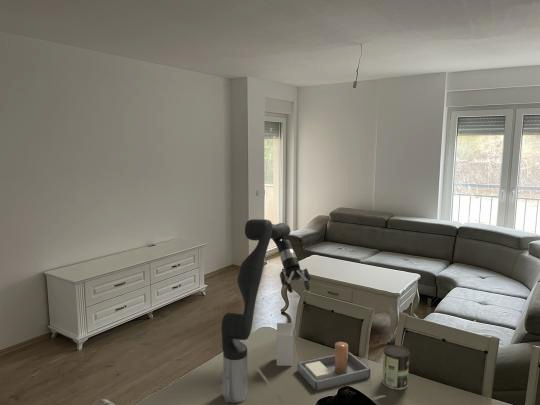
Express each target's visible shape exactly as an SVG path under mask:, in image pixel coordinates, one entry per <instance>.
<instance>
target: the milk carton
mask: <svg viewBox="0 0 540 405" xmlns="http://www.w3.org/2000/svg"><path fill="white" fill-rule="evenodd" d="M293 359H294V323H292V322H287V323H286V322H277V323H276V366H279V367H280V366H284V367H287V366H288V367H290V366H291V367H293V364H294V363H293V362H294V360H293Z"/></svg>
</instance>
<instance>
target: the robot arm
mask: <svg viewBox="0 0 540 405" xmlns="http://www.w3.org/2000/svg"><path fill="white" fill-rule="evenodd" d="M244 233H245V234H244V235H245V237H246V239H248V240H250V241H257V244H256V246H255V248H254V249H253V250H252V252H251V253H250V254H249V255H247V257H245V259H244V260H243V261H242V262H241V265H240V267H239V270H238V275H237V278H236V279H237V281H236V283H237V286H238V289H239V291H240V294H241V297H242V300H243V303H244V304H243V305H244V309H243V313H234V312H227V313H225V314H224V315H223V317H222V320H221V327H220V328H221V331H220V332H221V345H222V346H221V349H222V352H223V353H222V354H223V357H222V360H223V362H222V364H223V366H222V368H223V371H222V372H221V395H222V397H223V399H224V401H225V402H226V403H231V404H234V403H235V404H236V403H241V402H243V401H245V400H247V398H248V347H247V345H246V344H245V343H243V342H242V341H246V340H248V339H249V337H250V335H251V331H252V326H253V323H254V322H253V321H254V314H255V307H256V300H257V296H258V291H259V288H260V283H261V280H262V275H263V270H264V264H265V260H266V259H265V258H266V255H267V252H268V247H269V244H270V242H271V240H272V241H273V242H274V244H275V245H276V247H277V250H278V252H279V256H280V261H281V264H282V267H283V271H282V270H281V271H280V273H279V279H280V282H281V283H280V284H281V285H282V286H286V288H287V291H288V292H289V293H290V294H291V293H293V290H294V289H293V287H292V285H291V281H300V282H302V283H303V285H304V289H305V290H306V292H308V291H309V290H310V288H311V286H310V284H309V282H310V281H311V280H312V278H311V276H310V273H309V271H308V269H307V268H304V269H301V267H300V262H299V260H298V257H297V255H296V252H295V250H294V248H293V245H292V242H291V240H289V239H285V238H287V237H289V236H290V234H291V228H290V226H289V225H288V224H287V223H285V222H281V223H276V224H274V223H272V221H271V220H270V219H263V218H262V219H258V218H253V219H249V220H247V221H246V223H245V226H244ZM285 276H286V277H287V281H286V277H285Z"/></svg>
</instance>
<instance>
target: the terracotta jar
mask: <svg viewBox="0 0 540 405" xmlns="http://www.w3.org/2000/svg"><path fill="white" fill-rule="evenodd" d="M348 352H349V344H348V343H347V342H344V341H337V342H335V343H334V355H335V370H334V371H335V373H337V374H339V375H343V374H347V371H348Z"/></svg>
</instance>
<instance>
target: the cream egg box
mask: <svg viewBox="0 0 540 405" xmlns="http://www.w3.org/2000/svg"><path fill="white" fill-rule="evenodd" d="M305 369H306V370H307V371H308V372H309V373H310V374H311V375H312V376H313V377H314V379H315V380H316V381H318V380H322V379H326V378H331V377H332V373H331V372H330V371H329V370H328V369H327V368H326V367H325V366H324V365H323V364H322V363H321V362H320V361H317V362H313V363H308V364H305Z"/></svg>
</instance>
